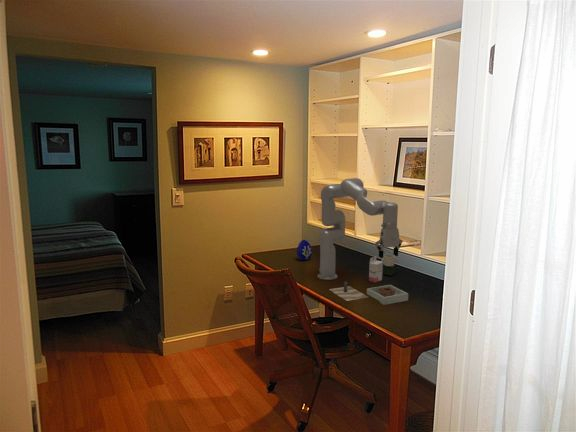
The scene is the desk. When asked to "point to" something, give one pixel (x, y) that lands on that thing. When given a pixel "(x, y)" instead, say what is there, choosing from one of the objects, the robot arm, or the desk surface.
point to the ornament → (304, 250)
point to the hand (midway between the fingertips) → (388, 256)
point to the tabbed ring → (387, 291)
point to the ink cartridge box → (375, 270)
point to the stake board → (348, 293)
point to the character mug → (388, 263)
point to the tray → (398, 296)
